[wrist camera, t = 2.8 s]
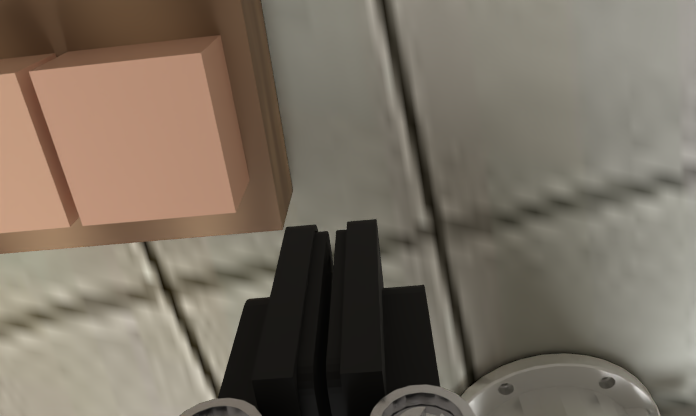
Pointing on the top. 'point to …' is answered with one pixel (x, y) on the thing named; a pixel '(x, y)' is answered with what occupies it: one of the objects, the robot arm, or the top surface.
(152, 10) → the brown flat block
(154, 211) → the tile
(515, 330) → the top surface
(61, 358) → the top surface
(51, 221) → the tile
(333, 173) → the top surface
